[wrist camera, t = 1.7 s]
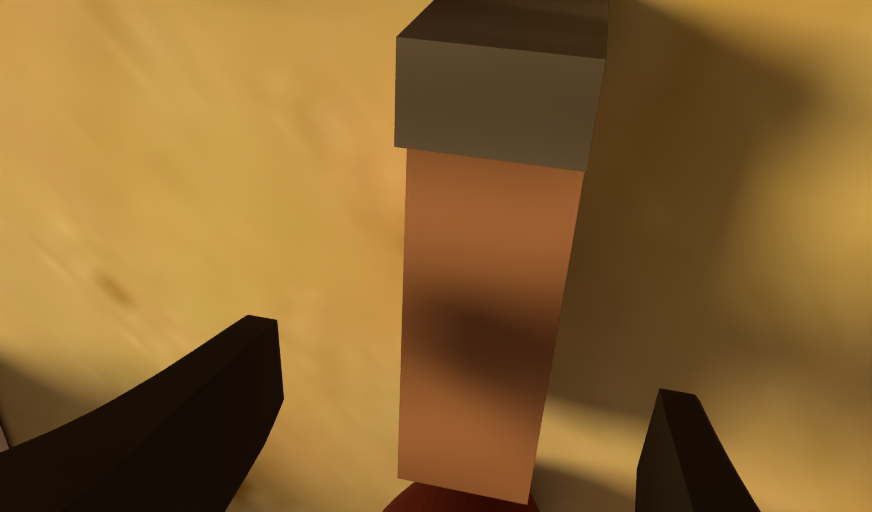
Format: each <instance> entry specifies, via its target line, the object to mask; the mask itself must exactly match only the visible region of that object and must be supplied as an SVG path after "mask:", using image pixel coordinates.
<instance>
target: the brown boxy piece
mask: <svg viewBox="0 0 872 512" xmlns="http://www.w3.org/2000/svg"><path fill="white" fill-rule="evenodd" d="M608 8H609V0H434V1H433V2H432V3H431V4H429V5H428V6H427V7H426V8H425V9H424V10H423V11H422V12H421V13H420V14H419V15H418V16H417V17H416V18H415V19H414V20H413V21H412V22H411V23H410V24H409V25H408V26H407V27H406V28H405V29H404V30H403V31H402V32H401V33H400V34H399V35H398V36H397V37H396V80H395V135H394V147H400V148H407V165H406V200H405V235H404V270H403V305H402V340H401V375H400V410H399V445H398V478H400V479H405V480H409V481H414V482H419V483H424V484H429V485H434V486H439V487H443V488H448V489H453V490H458V491H463V492H468V493H473V494H477V495H482V496H487V497H492V498H497V499H502V500H506V501H511V502H516V503H521V504H526V505H527V503H528V497H529V491H530V486H531V480H532V474H533V468H534V462H535V457H536V451H537V445H538V439H539V434H540V428H541V422H542V416H543V410H544V405H545V399H546V393H547V387H548V381H549V376H550V370H551V364H552V358H553V352H554V347H555V341H556V335H557V329H558V323H559V318H560V312H561V306H562V300H563V294H564V289H565V283H566V277H567V271H568V265H569V260H570V254H571V248H572V242H573V236H574V231H575V225H576V219H577V213H578V207H579V202H580V196H581V190H582V184H583V178H584V173H585V172H587V166H588V160H589V154H590V149H591V143H592V137H593V131H594V126H595V120H596V114H597V108H598V103H599V97H600V91H601V85H602V80H603V74H604V68H605V62H606V49H607V29H608Z"/></svg>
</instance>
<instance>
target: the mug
mask: <svg viewBox="0 0 872 512" xmlns="http://www.w3.org/2000/svg"><path fill="white" fill-rule="evenodd" d="M383 512H540V511H539V509H538V507H537V505H536V503H535V501H534V499H533V497H532V495H531V494H530V492H529V497H528V503H527V505H526V504H521V503H516V502H511V501H506V500H502V499H497V498H492V497H487V496H482V495H477V494H473V493H468V492H463V491H458V490H453V489H448V488H443V487H439V486H434V485H429V484H424V483H419V482H414V483H413V484H411V485H410V486H409V487H408V488H406V489H405V490H404V491H403V492H402V493H400V494H399V495H398V496H397V497H396V498H395V499H394V500H393V501H392V502H391V503H390V504H389V505H388V506H387V507H386V508H385V509H384V510H383Z"/></svg>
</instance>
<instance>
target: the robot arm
mask: <svg viewBox="0 0 872 512" xmlns="http://www.w3.org/2000/svg"><path fill="white" fill-rule="evenodd" d="M283 400H284V393H283V382H282V370H281V359H280V347H279V335H278V324H277V320H274V319H269V318H263V317H257V316H252V315H247V316H245V317H244V318H242V319H240V320H239V321H237V322H236V323H234V324H233V325H231V326H230V327H228V328H227V329H225V330H224V331H222V332H221V333H219V334H218V335H216V336H215V337H213V338H212V339H210V340H209V341H207V342H206V343H204V344H203V345H201V346H200V347H198V348H197V349H195V350H194V351H192V352H191V353H189V354H188V355H186V356H184V357H183V358H181V359H180V360H178V361H177V362H175V363H174V364H172V365H171V366H169V367H168V368H166V369H164V370H163V371H161V372H160V373H158V374H156V375H155V376H153V377H151V378H150V379H148V380H146V381H144V382H143V383H141V384H139V385H138V386H136V387H134V388H133V389H131V390H129V391H128V392H126V393H124V394H122V395H121V396H119V397H117V398H116V399H114V400H112V401H110V402H108V403H107V404H105V405H103V406H101V407H99V408H97V409H95V410H93V411H91V412H90V413H88V414H86V415H84V416H81V417H79V418H77V419H75V420H73V421H71V422H69V423H67V424H65V425H63V426H61V427H59V428H57V429H54V430H52V431H50V432H48V433H45V434H43V435H41V436H38V437H36V438H33V439H31V440H29V441H26V442H24V443H21V444H19V445H17V446H14V447H12V448H9V447H8V445H7V442H6V439H5V437H4V434H3V431H2V429H1V426H0V512H225V511H226V509H227V507H228V506H229V504H230V502H231V501H232V499H233V497H234V496H235V494H236V492H237V491H238V489H239V487H240V486H241V484H242V482H243V481H244V479H245V477H246V476H247V474H248V472H249V470H250V469H251V467H252V465H253V464H254V462H255V460H256V459H257V457H258V455H259V453H260V452H261V450H262V448H263V446H264V445H265V442H266V440H267V438H268V436H269V434H270V431H271V429H272V427H273V425H274V422H275V420H276V417H277V415H278V413H279V410H280V408H281V405H282V403H283ZM635 512H761V511H760V510H759V508H758V507H757V505H756V503H755V502H754V500H753V499H752V497H751V495H750V494H749V492H748V490H747V488H746V487H745V485H744V483H743V482H742V480H741V478H740V477H739V475H738V473H737V472H736V470H735V468H734V466H733V465H732V463H731V461H730V459H729V457H728V456H727V454H726V452H725V450H724V448H723V446H722V444H721V442H720V441H719V439H718V437H717V435H716V433H715V431H714V429H713V427H712V425H711V423H710V421H709V419H708V417H707V415H706V413H705V411H704V408H703V406H702V404H701V402H700V400H699V399H698V398H697V396H696V395H694V394H689V393H683V392H677V391H672V390H666V389H661V388H660V389H659V392H658V396H657V399H656V403H655V406H654V410H653V413H652V417H651V421H650V424H649V428H648V431H647V435H646V438H645V442H644V445H643V449H642V452H641V456H640V459H639V463H638V467H637V478H636V502H635Z"/></svg>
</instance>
